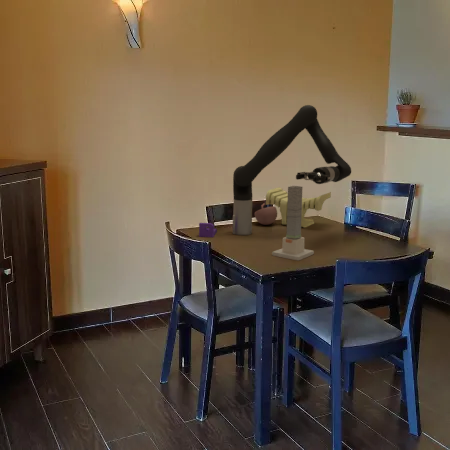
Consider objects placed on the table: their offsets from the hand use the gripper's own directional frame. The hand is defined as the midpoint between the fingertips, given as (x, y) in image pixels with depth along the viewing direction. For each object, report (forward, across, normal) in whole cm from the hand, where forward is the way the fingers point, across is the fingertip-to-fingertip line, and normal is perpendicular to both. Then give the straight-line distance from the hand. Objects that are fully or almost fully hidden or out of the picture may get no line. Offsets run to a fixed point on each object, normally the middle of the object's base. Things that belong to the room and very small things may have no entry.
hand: (305, 178), depth 252 cm
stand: (+11, +3, +32) cm, 34 cm away
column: (+11, +3, +24) cm, 27 cm away
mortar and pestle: (-31, -40, +32) cm, 60 cm away
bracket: (+5, -50, +34) cm, 60 cm away
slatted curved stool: (-42, -28, +32) cm, 60 cm away
